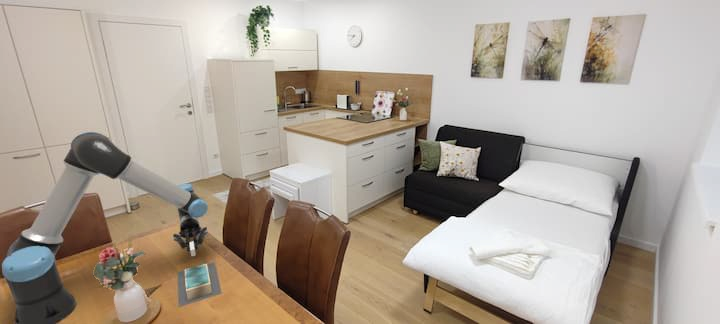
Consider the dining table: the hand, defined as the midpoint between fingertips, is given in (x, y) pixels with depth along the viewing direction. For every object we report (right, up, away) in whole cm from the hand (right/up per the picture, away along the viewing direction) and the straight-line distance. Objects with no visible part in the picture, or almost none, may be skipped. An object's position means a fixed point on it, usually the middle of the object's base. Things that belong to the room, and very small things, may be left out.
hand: (193, 252), depth 123 cm
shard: (-17, -16, -3) cm, 23 cm away
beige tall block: (-2, -9, +6) cm, 11 cm away
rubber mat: (+1, -13, +3) cm, 13 cm away
